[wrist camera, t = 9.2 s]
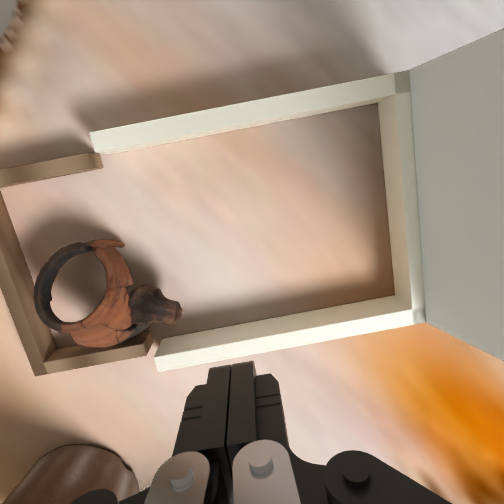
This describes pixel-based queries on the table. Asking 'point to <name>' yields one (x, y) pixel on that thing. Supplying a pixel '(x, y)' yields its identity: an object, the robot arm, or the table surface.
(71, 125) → the table surface
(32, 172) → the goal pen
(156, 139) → the cold frame
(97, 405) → the table surface
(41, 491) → the plant pot
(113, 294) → the pottery mug
